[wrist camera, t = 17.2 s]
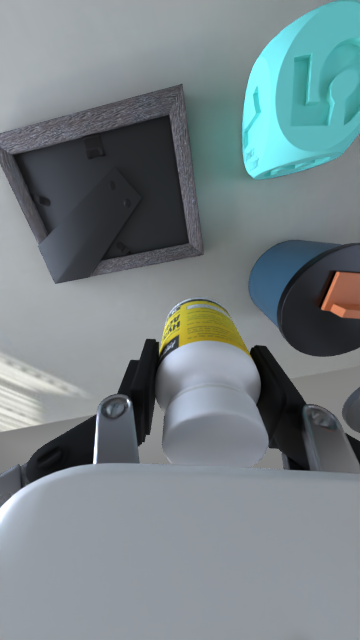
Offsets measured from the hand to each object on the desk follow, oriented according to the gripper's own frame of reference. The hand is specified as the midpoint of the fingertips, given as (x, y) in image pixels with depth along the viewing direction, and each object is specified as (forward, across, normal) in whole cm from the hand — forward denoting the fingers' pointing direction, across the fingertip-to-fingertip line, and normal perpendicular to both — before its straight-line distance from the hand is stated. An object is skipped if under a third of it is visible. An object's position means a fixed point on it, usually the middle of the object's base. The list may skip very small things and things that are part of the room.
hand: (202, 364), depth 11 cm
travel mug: (+19, -14, -1) cm, 24 cm away
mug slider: (+8, -14, -3) cm, 17 cm away
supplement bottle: (+5, 0, 0) cm, 5 cm away
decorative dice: (+19, -8, -17) cm, 27 cm away
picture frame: (+19, +11, -10) cm, 24 cm away
